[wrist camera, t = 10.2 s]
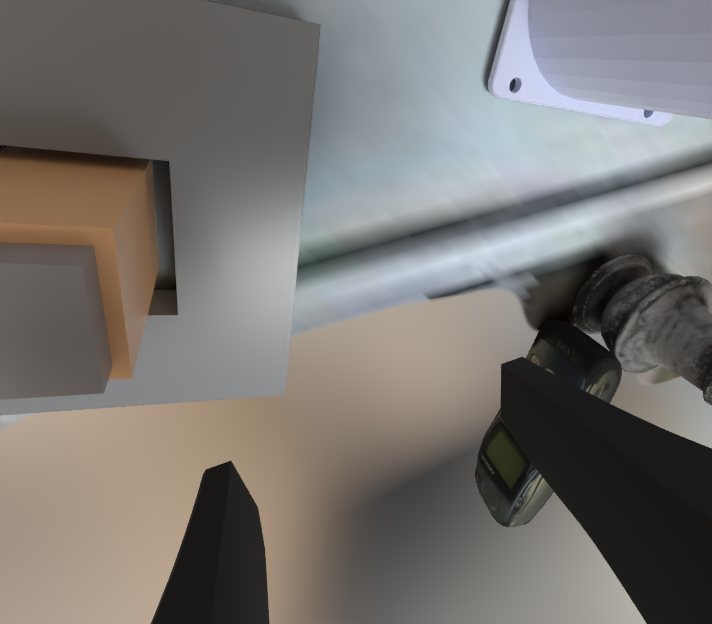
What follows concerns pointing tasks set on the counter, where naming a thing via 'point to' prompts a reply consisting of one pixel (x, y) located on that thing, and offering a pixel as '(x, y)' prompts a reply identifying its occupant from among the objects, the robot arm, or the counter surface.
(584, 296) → the salt shaker
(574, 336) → the mobile phone
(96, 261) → the plug
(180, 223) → the socket plate
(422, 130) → the counter surface
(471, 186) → the counter surface
